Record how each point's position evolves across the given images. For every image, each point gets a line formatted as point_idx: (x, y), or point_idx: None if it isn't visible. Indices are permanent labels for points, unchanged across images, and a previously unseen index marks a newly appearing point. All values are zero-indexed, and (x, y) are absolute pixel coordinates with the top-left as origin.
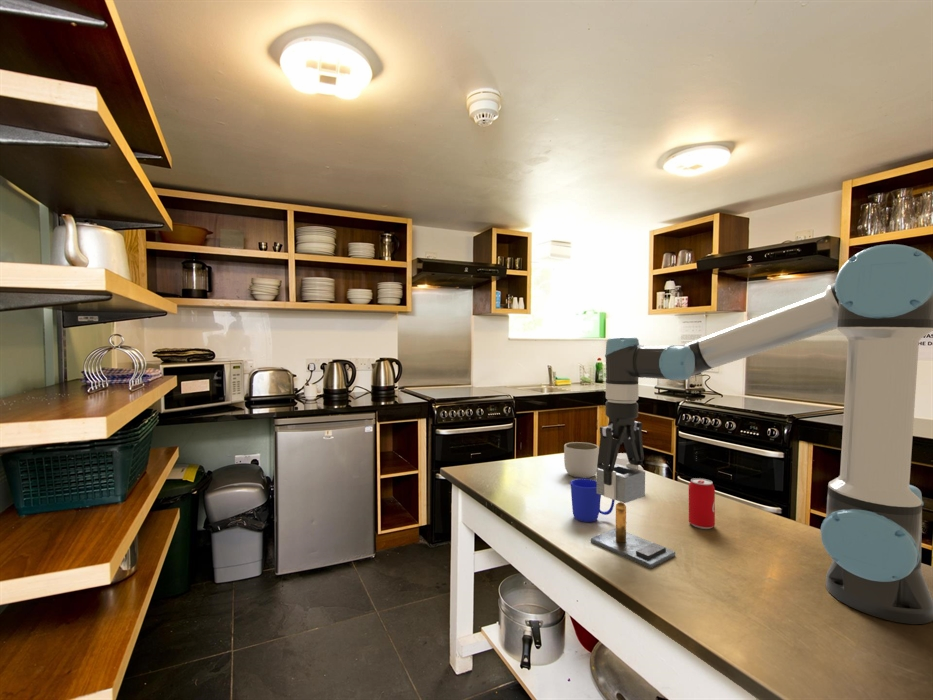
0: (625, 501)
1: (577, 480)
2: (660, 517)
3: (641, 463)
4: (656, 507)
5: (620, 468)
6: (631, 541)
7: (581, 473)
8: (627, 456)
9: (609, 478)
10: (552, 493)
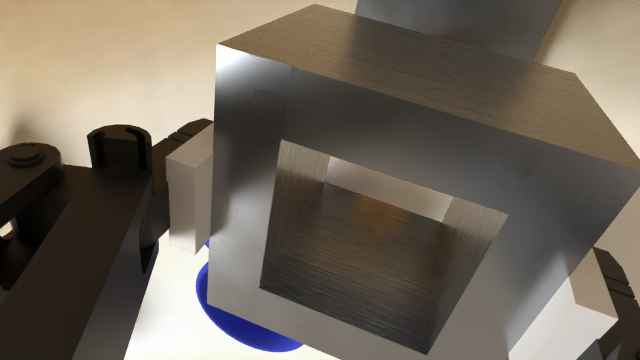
0: (568, 74)
1: (239, 333)
2: (109, 20)
3: (119, 134)
4: (54, 62)
5: (268, 263)
6: (417, 21)
7: None
8: (142, 300)
9: (618, 297)
10: (214, 325)
